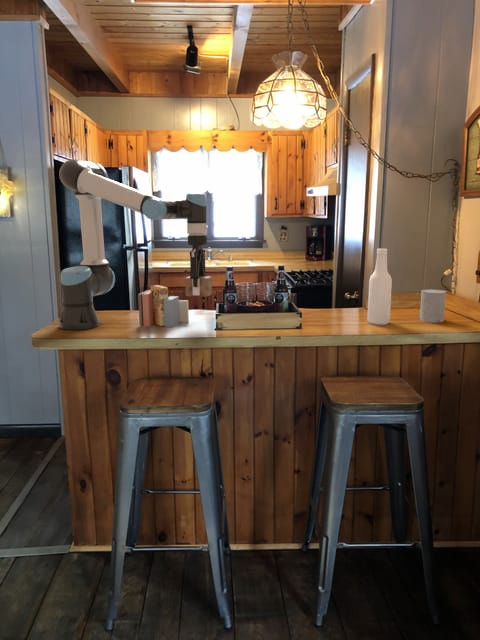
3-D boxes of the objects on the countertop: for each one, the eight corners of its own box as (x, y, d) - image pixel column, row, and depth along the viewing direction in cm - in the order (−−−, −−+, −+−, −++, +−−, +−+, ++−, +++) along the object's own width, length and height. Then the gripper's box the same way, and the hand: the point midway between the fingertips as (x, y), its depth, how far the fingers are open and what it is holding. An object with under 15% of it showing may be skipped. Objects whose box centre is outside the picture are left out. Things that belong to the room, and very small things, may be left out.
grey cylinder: (444, 323, 208) (446, 293, 205) (419, 321, 211) (421, 292, 209) (443, 318, 217) (445, 289, 214) (419, 317, 220) (421, 288, 217)
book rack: (139, 326, 206) (138, 294, 203) (150, 320, 217) (148, 289, 214) (180, 327, 202) (179, 295, 200) (188, 321, 213) (187, 290, 211)
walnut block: (185, 295, 201) (185, 278, 199) (190, 293, 207) (189, 276, 205) (208, 296, 199) (207, 278, 198) (211, 293, 205) (211, 276, 203)
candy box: (170, 325, 207) (168, 287, 203) (160, 326, 204) (158, 288, 201) (160, 321, 214) (159, 284, 211) (151, 322, 212) (149, 285, 208)
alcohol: (392, 324, 206) (397, 249, 199) (370, 325, 205) (374, 249, 199) (385, 320, 214) (389, 247, 208) (364, 320, 214) (367, 248, 207)
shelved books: (143, 326, 206) (142, 294, 203) (151, 321, 215) (150, 290, 212) (172, 327, 204) (171, 294, 201) (179, 322, 212) (178, 291, 209)
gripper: (199, 235, 188) (201, 298, 193) (212, 233, 206) (213, 290, 211) (180, 235, 190) (182, 297, 194) (194, 233, 208) (196, 290, 213)
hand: (198, 293), depth 203 cm, fingers closed on walnut block, 6 cm apart
